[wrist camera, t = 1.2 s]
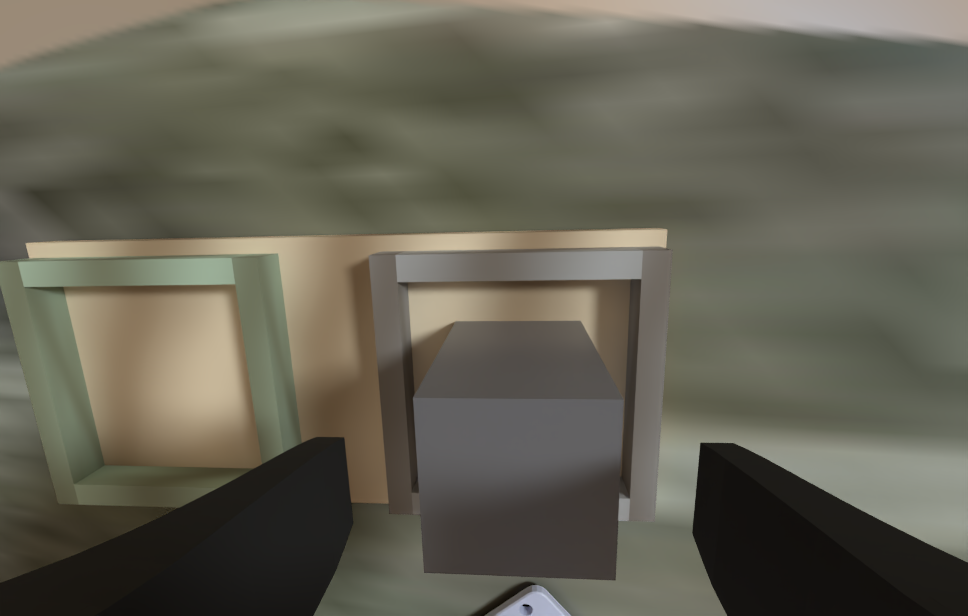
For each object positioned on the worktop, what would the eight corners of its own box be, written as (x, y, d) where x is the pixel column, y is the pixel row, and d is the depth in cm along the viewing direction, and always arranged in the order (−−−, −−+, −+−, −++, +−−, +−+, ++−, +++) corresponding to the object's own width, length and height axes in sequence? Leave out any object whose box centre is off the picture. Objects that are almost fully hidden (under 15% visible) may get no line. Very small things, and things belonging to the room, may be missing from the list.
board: (657, 227, 14) (681, 231, 12) (641, 492, 16) (660, 535, 14) (55, 241, 16) (-16, 246, 14) (110, 479, 18) (56, 516, 16)
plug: (580, 320, 14) (623, 399, 8) (578, 435, 15) (615, 580, 9) (455, 321, 14) (412, 397, 9) (460, 434, 15) (424, 572, 10)
